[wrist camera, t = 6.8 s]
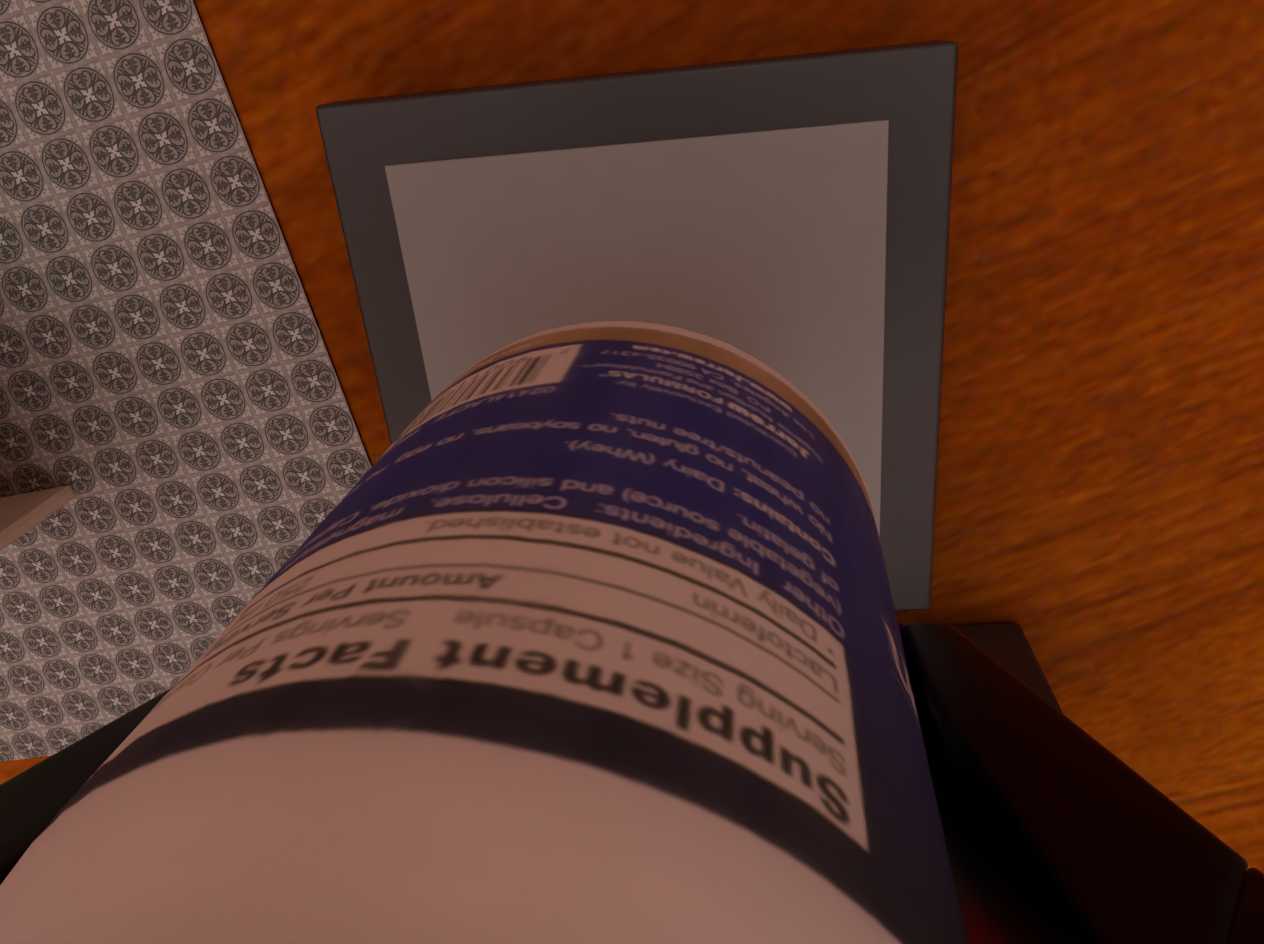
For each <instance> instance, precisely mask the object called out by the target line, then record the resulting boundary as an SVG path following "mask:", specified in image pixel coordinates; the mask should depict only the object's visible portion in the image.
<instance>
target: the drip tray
mask: <svg viewBox="0 0 1264 944" xmlns="http://www.w3.org/2000/svg"><path fill="white" fill-rule="evenodd" d="M957 61H958V45H957V43H956V42H954V41H931V42H921V43H912V44H902V45H892V46H882V47H872V48H862V49H852V50H842V51H832V52H822V53H812V54H802V55H792V56H782V57H773V58H763V59H753V60H743V61H733V62H723V63H713V64H703V65H693V66H683V67H673V68H663V69H653V70H643V71H633V72H624V73H614V74H604V75H594V76H584V77H574V78H564V79H554V80H544V81H534V82H524V83H514V84H504V85H494V86H485V87H475V88H465V89H455V90H445V91H435V92H425V93H415V94H405V95H395V96H385V97H375V98H365V99H355V100H346V101H337V102H332V103H327V104H322V105H318V106H317V107H316V114H317V118H318V122H319V127H320V131H321V136H322V140H323V145H324V149H325V153H326V158H327V162H328V167H329V171H330V176H331V180H332V185H333V189H334V193H335V198H336V202H337V207H338V211H339V216H340V220H341V224H342V229H343V233H344V238H345V242H346V247H347V251H348V256H349V260H350V264H351V269H352V273H353V278H354V282H355V287H356V291H357V295H358V300H359V304H360V309H361V313H362V318H363V322H364V326H365V331H366V335H367V340H368V344H369V349H370V353H371V358H372V362H373V366H374V371H375V375H376V380H377V384H378V389H379V393H380V397H381V402H382V406H383V411H384V415H385V420H386V424H387V429H388V433H389V437H390V442H391V445H392V444H393V443H394V442H395V441H396V440H397V439H398V437H399V436H400V435H401V434H402V432H403V431H404V430H405V429H406V428H407V427H408V426H409V425H410V424H411V423H412V422H413V421H414V420H415V419H416V418H417V417H418V415H419V414H420V413H421V412H422V411H423V410H424V409H425V408H426V407H427V406H428V405H429V404H430V403H431V401H432V400H433V399H434V398H435V397H436V396H438V395H439V394H440V393H441V392H442V391H443V390H444V389H445V388H447V387H448V386H449V385H450V384H451V383H452V382H453V381H454V380H456V379H457V378H458V377H459V376H460V375H462V374H463V373H464V372H465V371H466V370H468V369H469V368H470V367H471V366H473V365H474V364H476V363H477V362H479V361H480V360H482V359H483V358H485V357H486V356H488V355H490V354H491V353H493V352H495V351H497V350H498V349H500V348H502V347H504V346H507V345H509V344H511V343H513V342H515V341H517V340H520V339H522V338H525V337H528V336H530V335H533V334H536V333H539V332H542V331H545V330H550V329H554V328H559V327H564V326H569V325H576V324H582V323H590V322H601V321H637V322H646V323H655V324H662V325H668V326H673V327H678V328H682V329H686V330H689V331H693V332H696V333H700V334H703V335H707V336H710V337H712V338H715V339H717V340H720V341H722V342H725V343H727V344H730V345H732V346H734V347H736V348H738V349H740V350H742V351H743V352H745V353H747V354H749V355H751V356H753V357H755V358H757V359H758V360H760V361H761V362H763V363H764V364H766V365H767V366H769V367H770V368H772V369H773V370H775V371H776V372H778V373H779V374H781V375H782V376H783V377H784V378H785V379H787V380H788V381H789V382H790V383H792V384H793V385H794V386H795V387H797V388H798V389H799V390H800V391H801V392H802V393H803V394H805V395H806V396H807V397H808V398H809V399H810V400H811V401H812V402H813V403H814V404H815V405H816V406H817V407H818V409H819V410H820V411H821V412H822V413H823V414H824V416H825V417H826V418H827V419H828V420H829V421H830V423H831V424H832V425H833V427H834V428H835V429H836V431H837V432H838V433H839V435H840V436H841V437H842V439H843V441H844V442H845V444H846V445H847V447H848V449H849V451H850V452H851V454H852V456H853V458H854V460H855V461H856V463H857V465H858V467H859V469H860V472H861V474H862V477H863V479H864V482H865V484H866V487H867V490H868V494H869V498H870V501H871V505H872V508H873V512H874V516H875V520H876V523H877V528H878V532H879V537H880V542H881V546H882V551H883V556H884V561H885V566H886V570H887V575H888V580H889V585H890V589H891V594H892V598H893V603H894V607H895V611H900V610H927V609H929V607H930V598H931V579H932V559H933V539H934V519H935V499H936V479H937V459H938V439H939V419H940V399H941V379H942V360H943V340H944V320H945V300H946V280H947V260H948V240H949V220H950V200H951V180H952V160H953V141H954V121H955V101H956V81H957Z"/></svg>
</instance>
